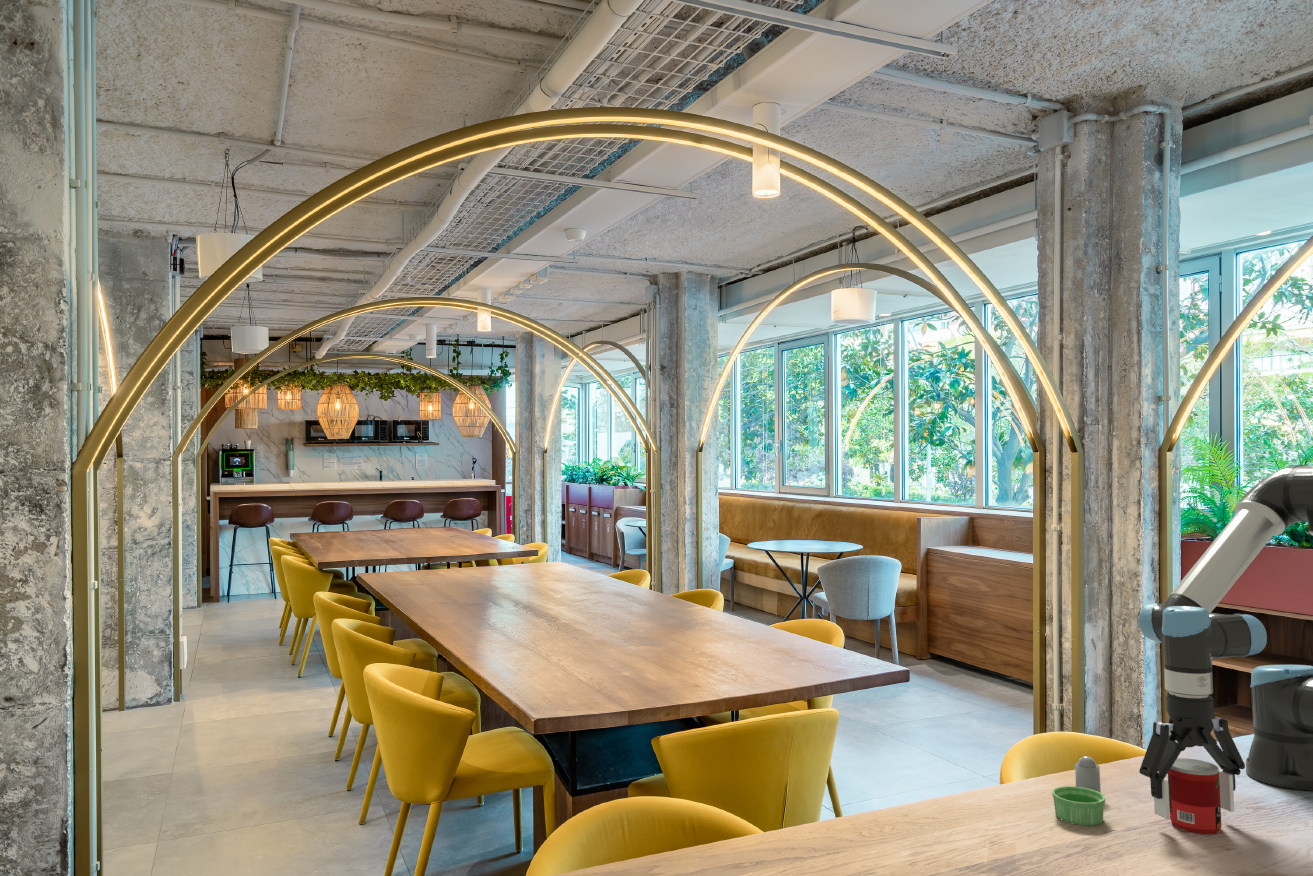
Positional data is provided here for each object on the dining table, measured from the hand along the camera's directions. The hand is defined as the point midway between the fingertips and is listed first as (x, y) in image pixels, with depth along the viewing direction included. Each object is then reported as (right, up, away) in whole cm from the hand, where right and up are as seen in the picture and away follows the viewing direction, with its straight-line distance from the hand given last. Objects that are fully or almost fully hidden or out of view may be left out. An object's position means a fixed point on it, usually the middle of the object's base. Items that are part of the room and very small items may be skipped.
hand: (1194, 812), depth 160 cm
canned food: (0, -3, 0) cm, 3 cm away
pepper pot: (-11, -3, +16) cm, 20 cm away
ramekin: (-18, -3, +5) cm, 19 cm away
